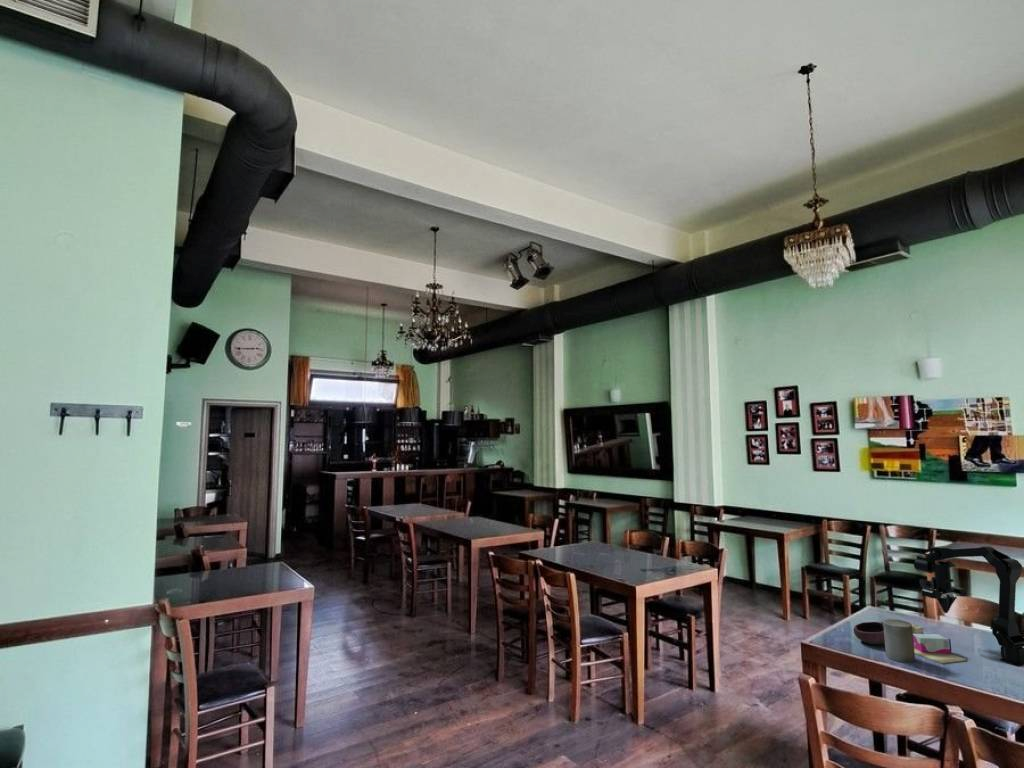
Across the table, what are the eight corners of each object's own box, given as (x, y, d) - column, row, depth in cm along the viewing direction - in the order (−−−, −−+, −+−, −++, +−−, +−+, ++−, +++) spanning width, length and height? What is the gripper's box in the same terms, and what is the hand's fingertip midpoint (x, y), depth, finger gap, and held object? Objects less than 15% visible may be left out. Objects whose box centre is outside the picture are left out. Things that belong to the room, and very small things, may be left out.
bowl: (888, 651, 226) (886, 630, 227) (852, 643, 235) (851, 624, 235) (892, 640, 239) (890, 621, 240) (857, 633, 247) (856, 615, 248)
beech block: (924, 646, 231) (923, 627, 232) (918, 648, 230) (917, 628, 230) (914, 643, 235) (913, 624, 236) (908, 644, 233) (907, 625, 234)
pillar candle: (913, 656, 221) (910, 617, 223) (916, 664, 212) (913, 624, 214) (884, 652, 226) (881, 614, 227) (886, 660, 217) (883, 620, 219)
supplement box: (940, 634, 229) (911, 633, 230) (950, 639, 223) (920, 638, 224) (942, 648, 228) (912, 647, 229) (952, 653, 222) (922, 652, 223)
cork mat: (967, 660, 216) (967, 659, 216) (941, 664, 213) (941, 663, 213) (929, 647, 231) (929, 646, 231) (905, 650, 227) (905, 649, 227)
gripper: (940, 570, 250) (943, 605, 248) (908, 572, 245) (911, 609, 244) (966, 576, 239) (969, 613, 238) (933, 578, 235) (936, 616, 233)
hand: (945, 612), depth 238 cm, fingers closed
